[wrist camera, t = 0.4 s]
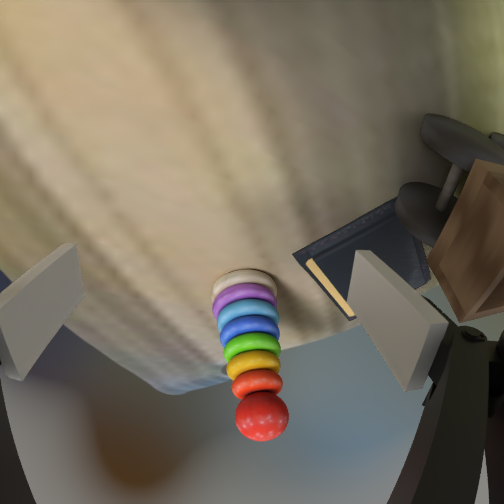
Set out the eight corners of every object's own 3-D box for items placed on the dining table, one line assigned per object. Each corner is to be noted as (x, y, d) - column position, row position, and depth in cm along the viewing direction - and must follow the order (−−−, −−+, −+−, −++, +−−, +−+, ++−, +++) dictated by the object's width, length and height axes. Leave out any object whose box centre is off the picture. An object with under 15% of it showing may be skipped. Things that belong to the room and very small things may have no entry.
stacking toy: (272, 304, 42) (296, 443, 29) (212, 308, 41) (221, 451, 28) (278, 264, 37) (313, 426, 23) (208, 267, 36) (217, 436, 23)
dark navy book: (434, 287, 43) (347, 329, 47) (429, 277, 44) (344, 319, 49) (416, 196, 30) (292, 260, 34) (408, 185, 31) (288, 247, 36)
